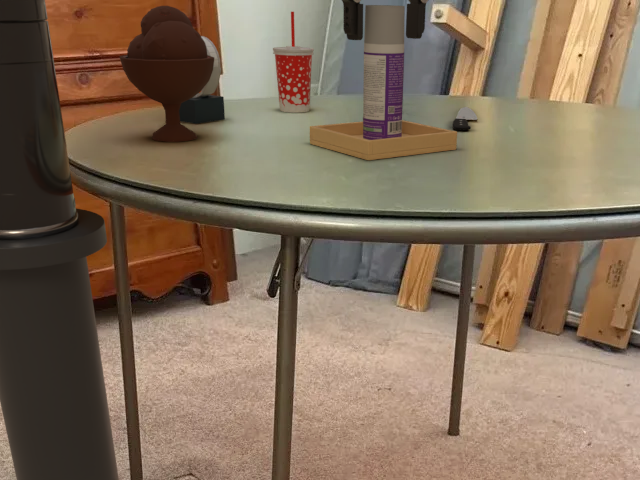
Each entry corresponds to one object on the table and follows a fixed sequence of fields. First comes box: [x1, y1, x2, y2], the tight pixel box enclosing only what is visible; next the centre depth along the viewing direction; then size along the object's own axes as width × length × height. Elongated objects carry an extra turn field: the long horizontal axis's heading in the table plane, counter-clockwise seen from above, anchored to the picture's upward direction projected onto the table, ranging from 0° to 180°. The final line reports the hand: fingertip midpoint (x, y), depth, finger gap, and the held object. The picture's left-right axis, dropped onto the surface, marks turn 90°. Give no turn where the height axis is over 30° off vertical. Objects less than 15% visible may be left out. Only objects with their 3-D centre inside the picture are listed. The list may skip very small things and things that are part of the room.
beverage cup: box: [272, 11, 315, 113], centre depth 120 cm, size 6×6×14 cm
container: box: [362, 4, 406, 140], centre depth 93 cm, size 5×5×15 cm
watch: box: [179, 35, 226, 125], centre depth 110 cm, size 6×8×11 cm
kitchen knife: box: [452, 106, 478, 131], centre depth 118 cm, size 23×3×1 cm, turn 171°
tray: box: [309, 119, 458, 161], centre depth 96 cm, size 13×12×2 cm
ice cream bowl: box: [119, 5, 214, 143], centre depth 96 cm, size 11×11×15 cm
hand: (384, 39), depth 91 cm, fingers open, 8 cm apart
